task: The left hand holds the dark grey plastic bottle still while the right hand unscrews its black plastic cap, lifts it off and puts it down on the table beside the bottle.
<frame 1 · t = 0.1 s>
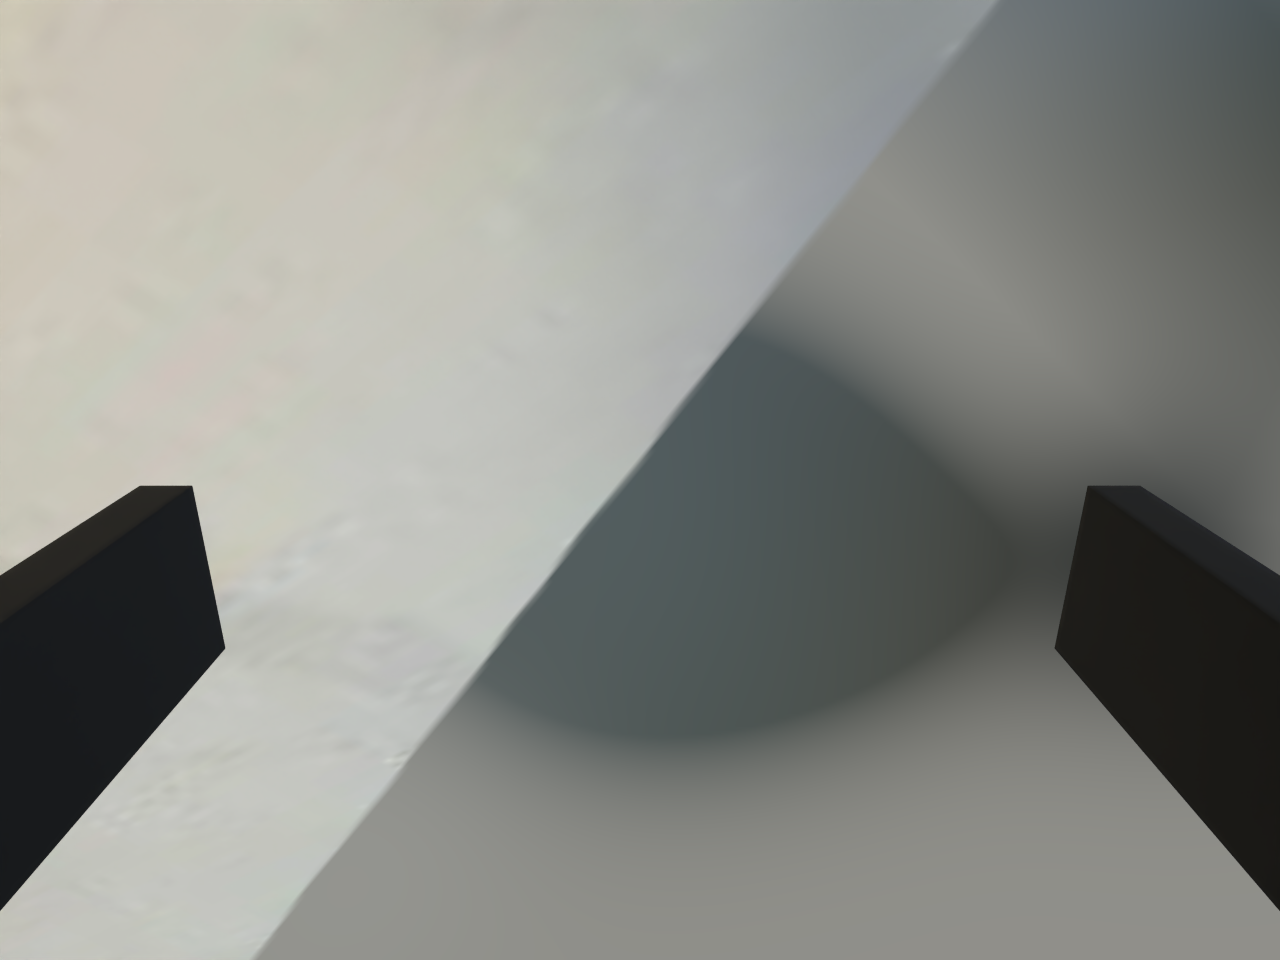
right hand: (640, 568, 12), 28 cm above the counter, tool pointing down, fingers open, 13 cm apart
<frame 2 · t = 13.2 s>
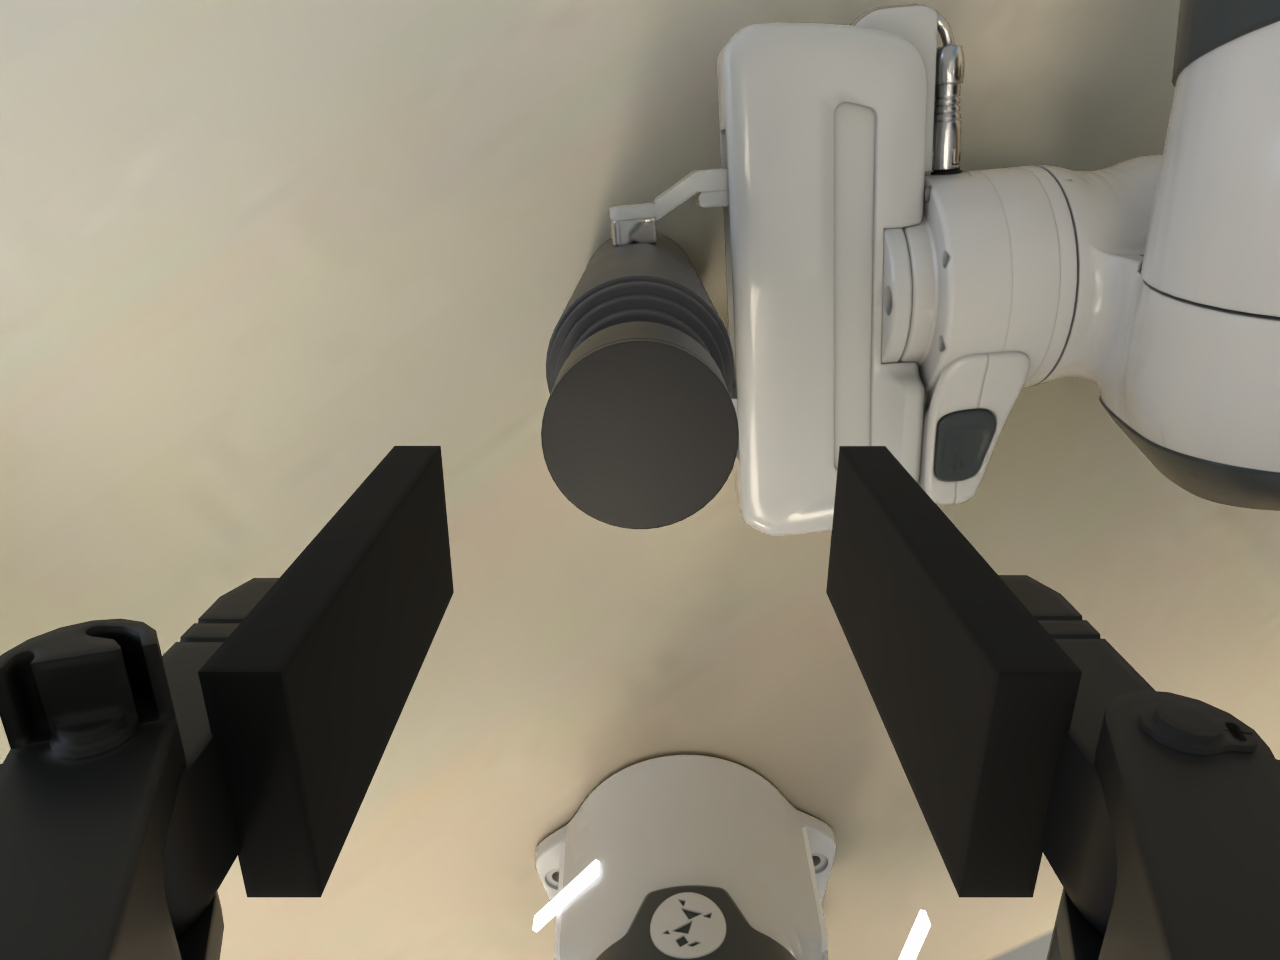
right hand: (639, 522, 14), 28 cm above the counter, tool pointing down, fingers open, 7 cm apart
left hand: (618, 312, 35), fingers closed on bottle, 5 cm apart
cap: (640, 435, 19), point 23 cm above the counter, screwed on, not yet turned
bottle: (640, 288, 41), on the counter, touching left hand
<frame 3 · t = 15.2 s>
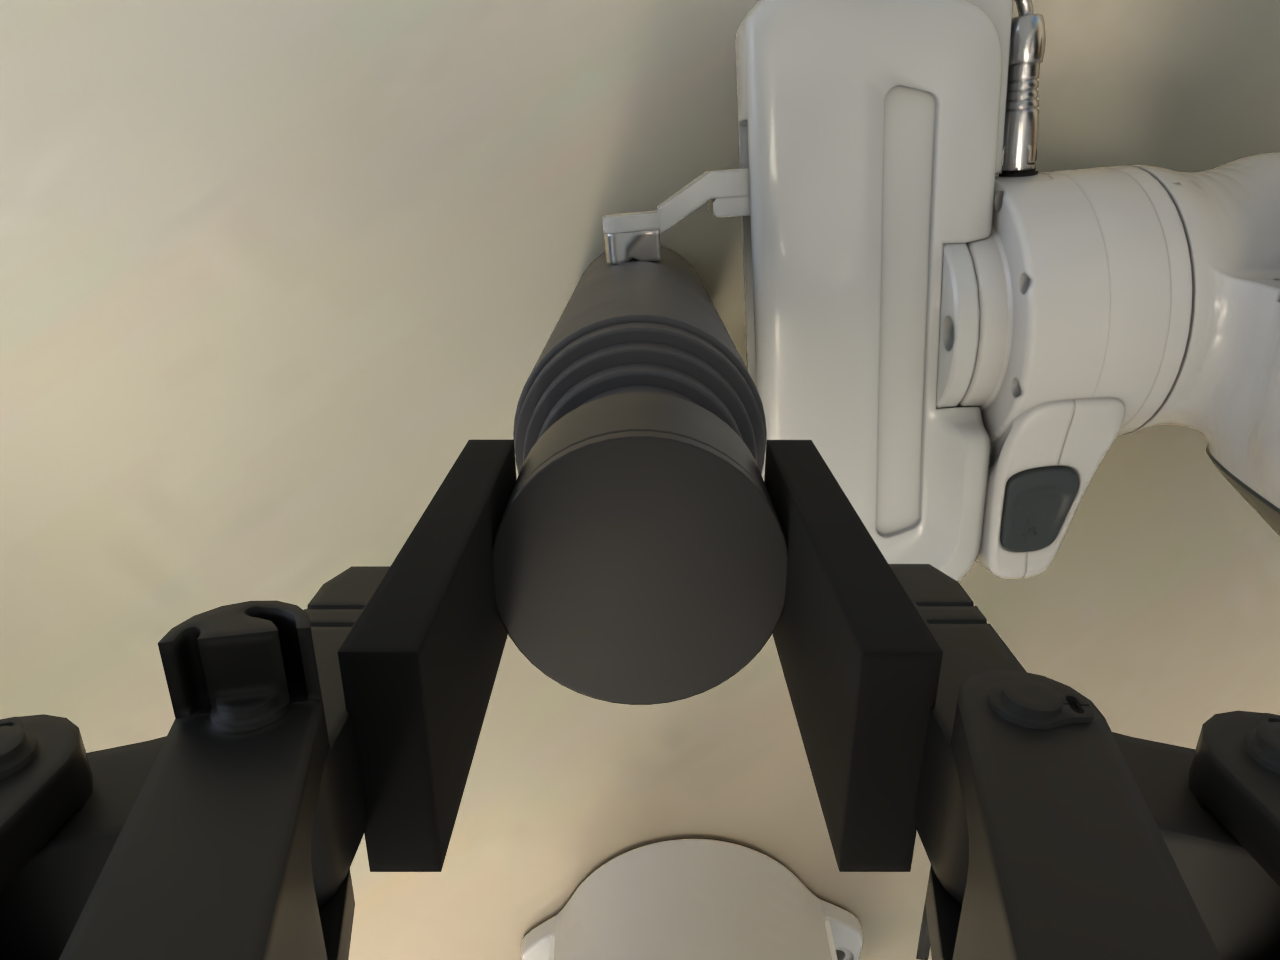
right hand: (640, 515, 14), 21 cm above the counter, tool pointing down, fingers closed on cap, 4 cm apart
left hand: (614, 344, 29), fingers closed on bottle, 5 cm apart
cap: (640, 570, 12), point 23 cm above the counter, screwed on, not yet turned, touching right hand
bottle: (640, 311, 34), on the counter, touching left hand
when the right hand's fingers open (1 cm above the counter, at t = 37.4 s): cap drops 1 cm, point 2 cm above the counter.
when the left hand's fingers open (6 cm above the counter, at t = 38.8 s): bottle stays where it is, on the counter.
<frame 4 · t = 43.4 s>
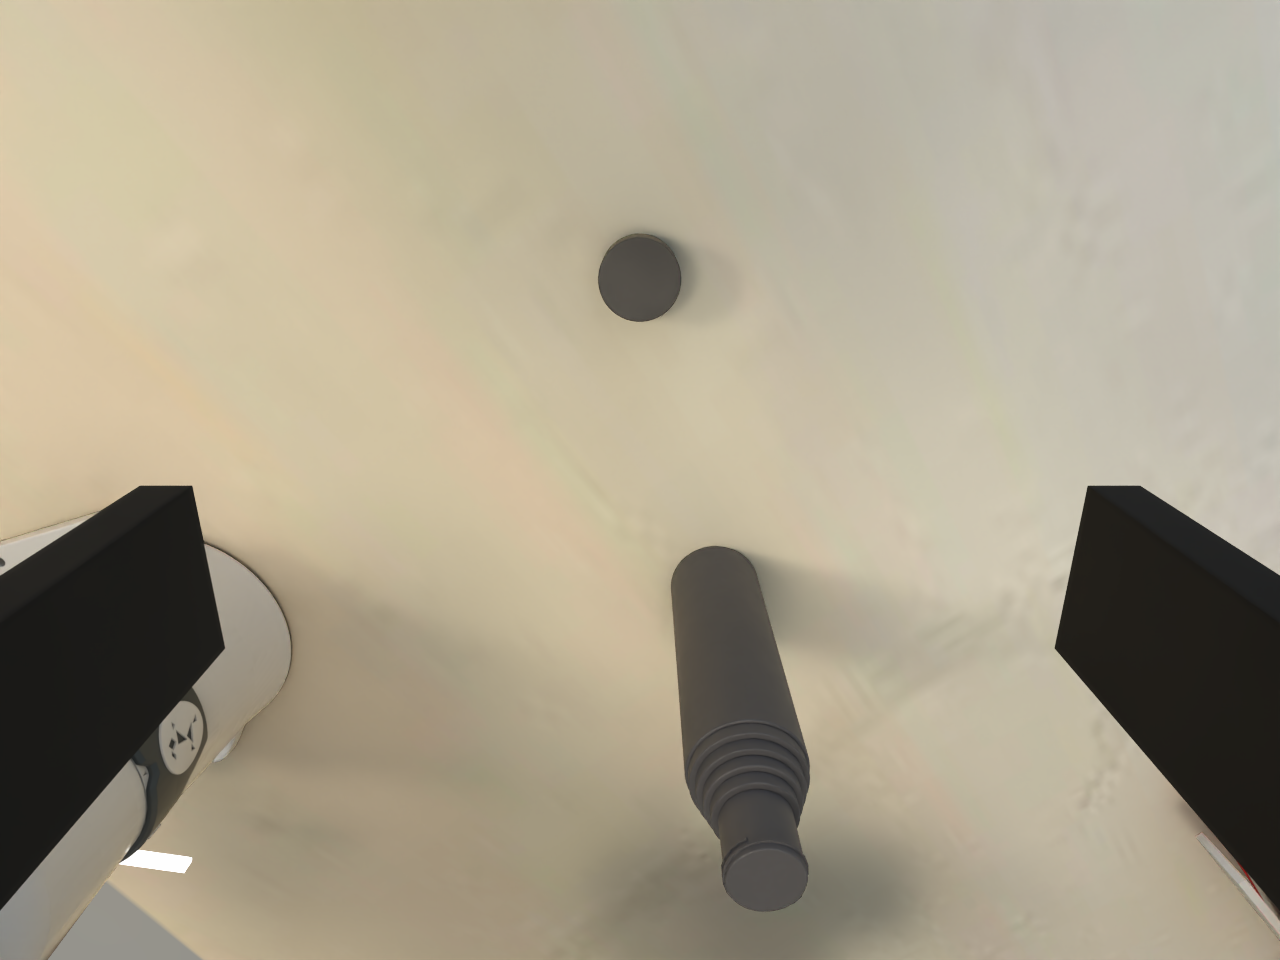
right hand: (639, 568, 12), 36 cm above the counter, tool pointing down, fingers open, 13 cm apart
cap: (639, 279, 44), point 2 cm above the counter, off its thread
bottle: (714, 585, 53), on the counter
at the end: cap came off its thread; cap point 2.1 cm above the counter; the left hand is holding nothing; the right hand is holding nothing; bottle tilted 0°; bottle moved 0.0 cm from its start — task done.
